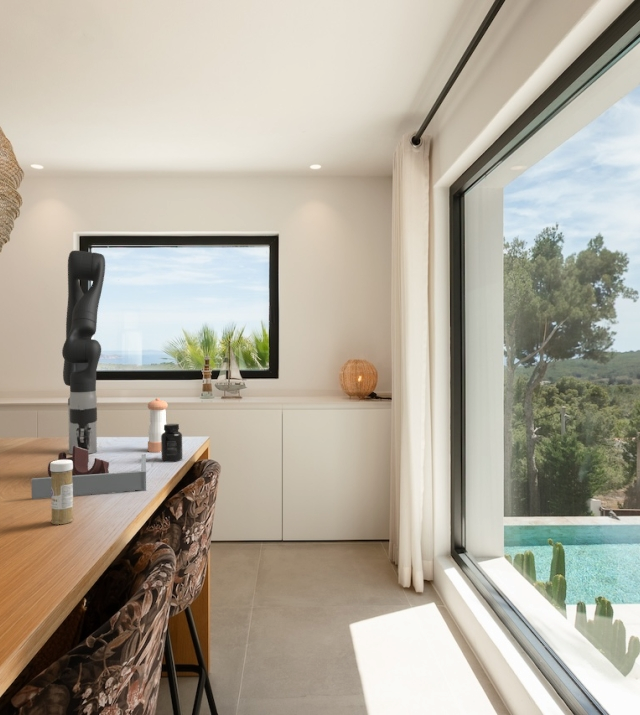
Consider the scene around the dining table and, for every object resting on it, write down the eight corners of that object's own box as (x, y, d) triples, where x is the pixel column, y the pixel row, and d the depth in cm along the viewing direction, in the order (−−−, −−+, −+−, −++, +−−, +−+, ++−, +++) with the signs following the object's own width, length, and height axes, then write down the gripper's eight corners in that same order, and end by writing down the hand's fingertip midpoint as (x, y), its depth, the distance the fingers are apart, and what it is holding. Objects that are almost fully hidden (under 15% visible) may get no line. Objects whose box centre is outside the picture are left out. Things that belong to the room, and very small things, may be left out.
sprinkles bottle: (47, 522, 125) (46, 461, 125) (67, 517, 129) (66, 458, 128) (57, 526, 122) (55, 464, 122) (77, 521, 126) (76, 460, 125)
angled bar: (47, 477, 168) (47, 460, 168) (145, 470, 176) (145, 454, 176) (31, 499, 144) (31, 479, 144) (146, 490, 152) (145, 471, 152)
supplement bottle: (186, 458, 194) (186, 423, 193) (175, 462, 187) (174, 426, 187) (169, 457, 196) (168, 422, 195) (157, 461, 189) (156, 425, 189)
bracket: (101, 475, 157) (101, 440, 161) (46, 486, 160) (47, 451, 164) (113, 478, 163) (113, 444, 166) (60, 489, 165) (61, 455, 169)
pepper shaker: (168, 451, 206) (167, 398, 205) (147, 452, 204) (146, 399, 203) (168, 448, 213) (168, 397, 212) (148, 449, 211) (147, 397, 211)
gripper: (72, 404, 175) (73, 459, 176) (66, 409, 163) (68, 470, 164) (98, 403, 178) (99, 458, 178) (95, 408, 165) (96, 468, 166)
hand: (84, 463), depth 171 cm, fingers closed
